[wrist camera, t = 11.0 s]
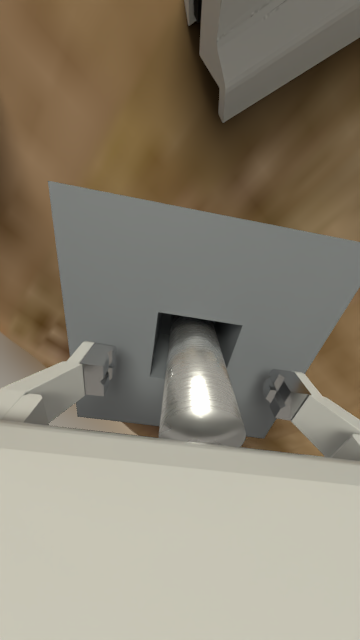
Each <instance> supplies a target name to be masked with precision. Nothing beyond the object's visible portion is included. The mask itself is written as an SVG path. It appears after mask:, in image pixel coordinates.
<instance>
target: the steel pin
mask: <svg viewBox="0 0 360 640" xmlns="http://www.w3.org/2000/svg"><path fill="white" fill-rule="evenodd" d="M245 437H246V431H245V428H244V424H243V421H242V418H241V414H240V411H239V408H238V404H237V401H236V398H235V394H234V391H233V388H232V385H231V381H230V378H229V375H228V371H227V368H226V365H225V361H224V358H223V355H222V351H221V348H220V345H219V342H218V338H217V335H216V332H215V328H214V325H213V322H212V321H211V320H205V319H198V318H192V317H186V316H179V315H173V314H172V321H171V330H170V339H169V348H168V357H167V366H166V375H165V384H164V393H163V402H162V411H161V420H160V429H159V438H163V439H172V440H180V441H189V442H198V443H207V444H215V445H224V446H233V447H241V446H242V444H243V443H244V441H245Z"/></svg>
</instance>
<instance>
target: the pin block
mask: <svg viewBox="0 0 360 640" xmlns="http://www.w3.org/2000/svg"><path fill="white" fill-rule="evenodd" d="M48 185H49V193H50V201H51V209H52V217H53V225H54V232H55V240H56V248H57V256H58V264H59V272H60V280H61V288H62V296H63V304H64V312H65V320H66V327H67V335H68V343H69V351H70V357H71V356H72V354H73V353H74V352H75V351H76V350H77V348H78V347H79V346H80V345H81V344H82V343H83V342H84V341H89V342H95V343H102V344H108V345H114V346H116V348H117V353H116V355H115V358H116V369H115V372H114V375H113V378H112V379H110V380H109V386H108V389H107V391H106V393H105V395H104V396H95V395H85V396H84V397H82V398H81V399H80V400H79V401H77V402H76V407H77V414H78V417H86V418H95V419H104V420H112V421H120V422H129V423H137V424H146V425H154V426H160V420H161V411H162V402H163V393H164V384H165V375H166V366H167V357H168V348H169V339H170V330H171V321H172V314H173V315H179V316H186V317H192V318H198V319H205V320H211V321H212V322H213V325H214V328H215V332H216V335H217V338H218V342H219V345H220V348H221V351H222V355H223V358H224V361H225V365H226V368H227V371H228V375H229V378H230V381H231V385H232V388H233V391H234V394H235V398H236V401H237V404H238V408H239V411H240V414H241V418H242V421H243V424H244V428H245V431H246V436H247V437H256V438H264V437H265V436H266V434H267V433H268V431H269V429H270V428H271V426H272V425H273V423H274V421H275V420H276V418H275V417H274V415H273V413H272V411H271V409H270V407H269V406H270V402H269V401H268V400H267V399H266V398H265V396H264V393H263V385H264V383H265V381H266V380H267V379H269V378H270V376H269V373H270V371H271V370H272V369H279V370H286V371H297V372H302V373H304V374H305V372H306V371H307V369H308V368H309V366H310V365H311V363H312V361H313V360H314V358H315V357H316V355H317V353H318V352H319V350H320V349H321V347H322V346H323V344H324V342H325V341H326V339H327V338H328V336H329V334H330V333H331V331H332V330H333V328H334V327H335V325H336V323H337V322H338V320H339V319H340V317H341V316H342V314H343V312H344V311H345V309H346V308H347V306H348V304H349V303H350V301H351V300H352V298H353V297H354V295H355V293H356V292H357V290H358V289H359V287H360V242H356V241H351V240H346V239H341V238H336V237H331V236H326V235H321V234H316V233H310V232H305V231H300V230H295V229H290V228H285V227H280V226H275V225H270V224H265V223H260V222H255V221H250V220H244V219H239V218H234V217H229V216H224V215H219V214H214V213H209V212H204V211H199V210H194V209H189V208H183V207H178V206H173V205H168V204H163V203H158V202H153V201H148V200H143V199H138V198H133V197H128V196H123V195H117V194H112V193H107V192H102V191H97V190H92V189H87V188H82V187H77V186H72V185H67V184H62V183H57V182H51V181H48Z"/></svg>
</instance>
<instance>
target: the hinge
mask: <svg viewBox="0 0 360 640" xmlns="http://www.w3.org/2000/svg"><path fill="white" fill-rule="evenodd" d="M184 1H185V9H186V15H187V21H188V26H190V25H191V24H193V23H194V22H195V21H197V23H199V22H200V21H201V30H200V51H199V55H200V57H201V59H202V60H203V62H204V63H205V65H206V67H207V68H208V70H209V72H210V73H211V75H212V76H213V78H214V80H215V81H216V83H217V85H218V86H219V89H220V90H219V111H218V114H219V116H220V118H221V121H222V122H223V123H224V122H225V121H227V120H229V119H230V118H232V117H233V116H235V115H237V114H238V113H240V112H241V111H243V110H245V109H246V108H248V107H249V106H251V105H253V104H254V103H256V102H257V101H259V100H261V99H262V98H264V97H265V96H267V95H269V94H270V93H272V92H273V91H275V90H277V89H278V88H280V87H281V86H283V85H285V84H286V83H288V82H289V81H291V80H293V79H294V78H296V77H297V76H299V75H301V74H302V73H304V72H305V71H307V70H309V69H310V68H312V67H313V66H315V65H317V64H318V63H320V62H321V61H323V60H325V59H326V58H328V57H329V56H331V55H333V54H334V53H336V52H337V51H339V50H340V49H342V48H344V47H345V46H347V45H348V44H350V43H352V42H353V41H355V40H356V39H358V38H360V0H184Z"/></svg>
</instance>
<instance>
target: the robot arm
mask: <svg viewBox="0 0 360 640" xmlns="http://www.w3.org/2000/svg"><path fill="white" fill-rule="evenodd" d="M116 353H117V348H116V346H114V345H108V344H102V343H95V342H89V341H84V342H83V343H82V344H81V345H80V346H79V347H78V348H77V350H76V351H75V352H74V353H73V354H72V356H71V357H70V358H69V359H68V360H67V361H66V362H64V361H63V362H60V363H58V364H56V365H53V366H51V367H49V368H47V369H44V370H42V371H40V372H37V373H35V374H33V375H30V376H28V377H26V378H23V379H21V380H19V381H17V382H14V383H12V384H10V385H7V386H5V387H3V388H0V640H360V420H359V419H358V418H356V417H355V416H353V415H352V414H350V413H349V412H347V411H346V410H344V409H343V408H341V407H340V406H338V405H337V404H335V403H334V402H332V401H331V400H329V399H328V398H326V397H323V396H322V395H321V394H320V393H319V391H318V390H317V389H316V388H315V387H314V385H313V384H312V383H311V382H310V380H309V379H308V378H307V377H306V375H305V374H304V373H302V372H297V371H286V370H279V369H272V370H271V371H270V373H269V376H270V378H269V379H267V380H266V381H265V383H264V385H263V393H264V396H265V398H266V399H267V400H268V401H269V402H270V406H269V407H270V409H271V411H272V413H273V415H274V417H275V418H278V419H284V420H291V422H292V423H293V424H294V425H295V426H296V427H297V428H298V429H299V430H300V431H301V432H302V433H303V434H304V435H305V436H306V437H307V438H308V439H309V440H310V441H311V442H312V443H313V444H314V445H315V446H316V447H317V448H318V450H319V451H320V452H321V453H322V454H323V455H324V456H325V457H321V456H312V455H303V454H294V453H286V452H277V451H268V450H259V449H251V448H242V447H233V446H224V445H215V444H207V443H198V442H189V441H180V440H172V439H163V438H154V437H146V436H137V435H128V434H119V433H110V432H102V431H93V430H84V429H75V428H66V427H58V426H49V424H48V423H50V422H51V421H52V420H54V419H55V418H56V417H58V416H59V415H60V414H61V413H63V412H64V411H65V410H67V409H68V408H69V407H71V406H72V405H73V404H75V403H76V402H77V401H79V400H80V399H81V398H82V397H84V396H85V395H95V396H104V395H105V393H106V391H107V389H108V386H109V380H110V379H112V378H113V375H114V372H115V369H116V358H115V355H116Z"/></svg>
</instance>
